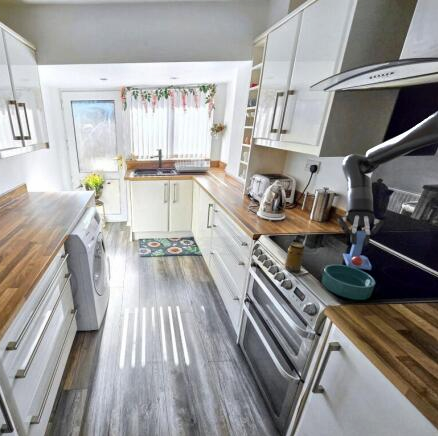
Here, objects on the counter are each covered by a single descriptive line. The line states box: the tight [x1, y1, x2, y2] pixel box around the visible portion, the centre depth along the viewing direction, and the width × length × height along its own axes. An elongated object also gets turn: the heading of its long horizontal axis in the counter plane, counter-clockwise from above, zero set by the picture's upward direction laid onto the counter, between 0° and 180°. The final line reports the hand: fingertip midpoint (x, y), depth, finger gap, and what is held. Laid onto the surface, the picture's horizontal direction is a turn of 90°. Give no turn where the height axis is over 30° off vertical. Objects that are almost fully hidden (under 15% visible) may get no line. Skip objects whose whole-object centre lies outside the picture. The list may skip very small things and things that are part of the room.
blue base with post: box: [342, 230, 373, 271], centre depth 87 cm, size 8×7×11 cm
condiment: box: [280, 241, 309, 276], centre depth 105 cm, size 7×8×12 cm
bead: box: [351, 256, 363, 265], centre depth 86 cm, size 3×3×3 cm
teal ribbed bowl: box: [321, 263, 376, 301], centre depth 93 cm, size 15×15×6 cm
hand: (359, 244), depth 87 cm, fingers closed on blue base with post, 2 cm apart
